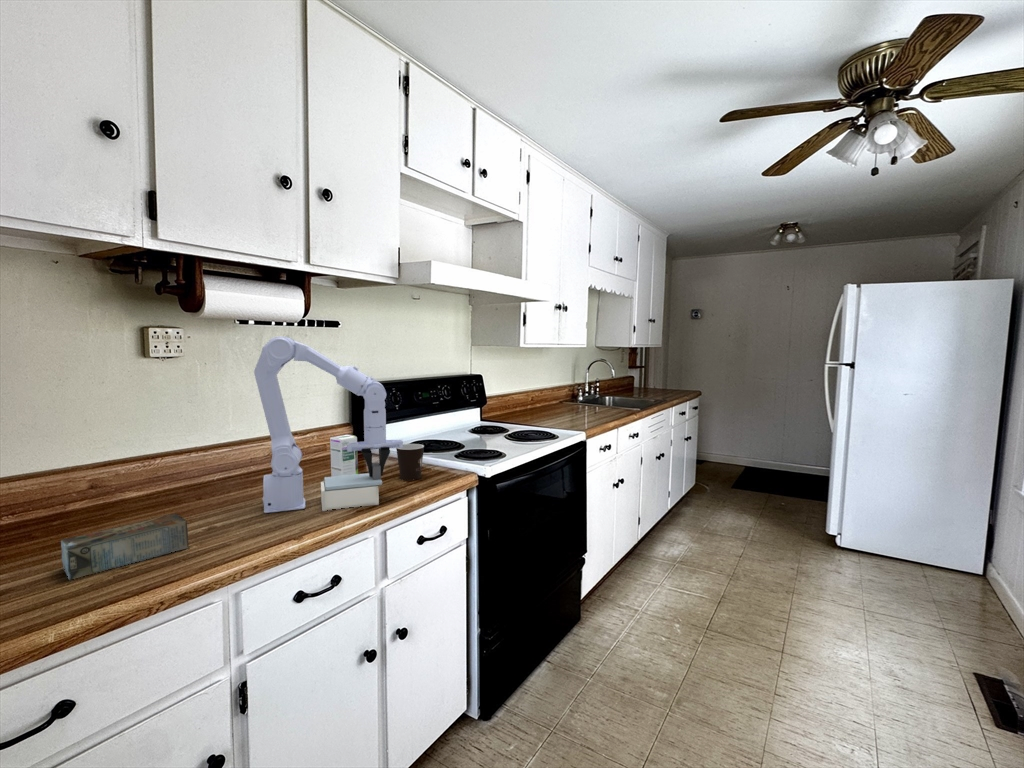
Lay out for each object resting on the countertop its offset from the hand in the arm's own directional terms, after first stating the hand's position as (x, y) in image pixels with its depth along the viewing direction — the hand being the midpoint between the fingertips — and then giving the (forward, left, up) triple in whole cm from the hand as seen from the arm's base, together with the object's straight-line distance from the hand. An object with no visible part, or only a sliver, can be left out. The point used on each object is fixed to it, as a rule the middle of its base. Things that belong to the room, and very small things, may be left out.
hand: (375, 475), depth 134 cm
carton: (-7, 0, -7) cm, 10 cm away
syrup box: (-7, +19, -7) cm, 21 cm away
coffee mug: (+14, +19, -7) cm, 25 cm away
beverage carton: (-50, -20, -7) cm, 54 cm away
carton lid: (-6, 0, -1) cm, 6 cm away
